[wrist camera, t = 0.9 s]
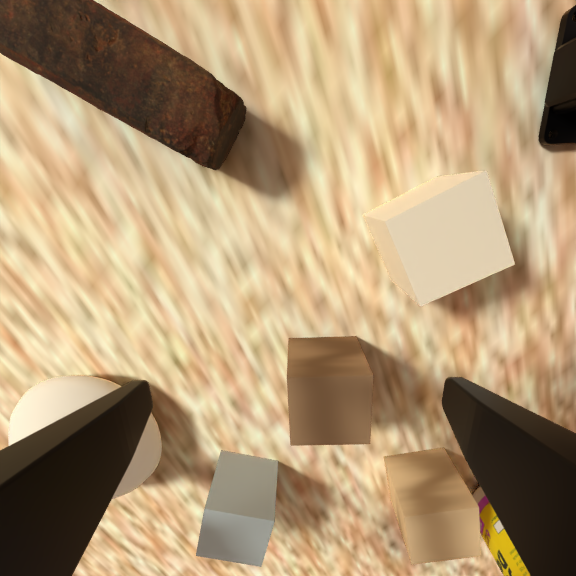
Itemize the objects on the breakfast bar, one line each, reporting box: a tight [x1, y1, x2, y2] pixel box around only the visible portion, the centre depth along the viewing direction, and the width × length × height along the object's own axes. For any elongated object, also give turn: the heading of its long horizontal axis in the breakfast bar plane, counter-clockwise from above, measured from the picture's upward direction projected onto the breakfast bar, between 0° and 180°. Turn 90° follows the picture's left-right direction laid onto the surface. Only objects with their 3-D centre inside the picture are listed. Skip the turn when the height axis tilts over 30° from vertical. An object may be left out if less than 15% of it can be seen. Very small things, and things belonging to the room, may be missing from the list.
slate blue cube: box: [196, 450, 278, 567], centre depth 24 cm, size 5×5×5 cm
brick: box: [0, 0, 246, 170], centre depth 15 cm, size 11×4×5 cm, turn 61°
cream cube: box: [363, 170, 515, 307], centre depth 17 cm, size 5×5×5 cm
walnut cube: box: [287, 336, 374, 445], centre depth 20 cm, size 5×5×5 cm
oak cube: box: [384, 448, 481, 565], centre depth 23 cm, size 5×5×5 cm
